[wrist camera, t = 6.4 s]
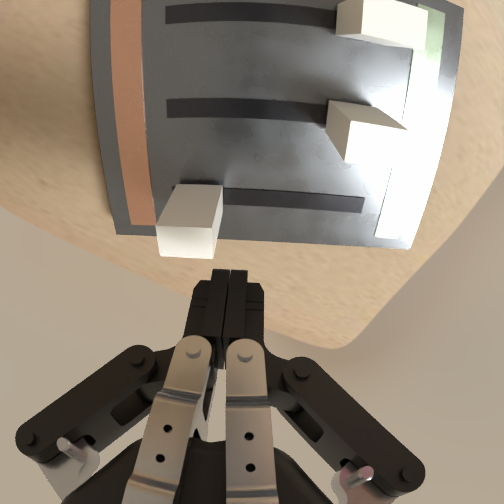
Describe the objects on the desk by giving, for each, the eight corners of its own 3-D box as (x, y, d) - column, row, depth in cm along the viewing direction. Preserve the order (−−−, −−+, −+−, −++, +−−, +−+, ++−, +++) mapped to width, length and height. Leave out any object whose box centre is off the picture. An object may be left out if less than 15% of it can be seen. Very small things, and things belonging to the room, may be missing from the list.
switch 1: (176, 184, 20) (155, 225, 16) (222, 185, 20) (211, 228, 16) (179, 210, 21) (160, 256, 17) (222, 212, 21) (213, 258, 17)
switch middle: (329, 100, 16) (350, 120, 12) (377, 107, 16) (411, 131, 12) (325, 131, 18) (344, 162, 14) (372, 138, 18) (402, 170, 14)
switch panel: (104, -17, 13) (90, -20, 11) (448, 8, 13) (464, 8, 11) (125, 220, 25) (116, 235, 23) (401, 235, 25) (410, 250, 23)
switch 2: (337, 4, 13) (363, -8, 9) (388, 15, 13) (427, 10, 9) (335, 35, 14) (361, 33, 10) (385, 45, 14) (424, 50, 10)
